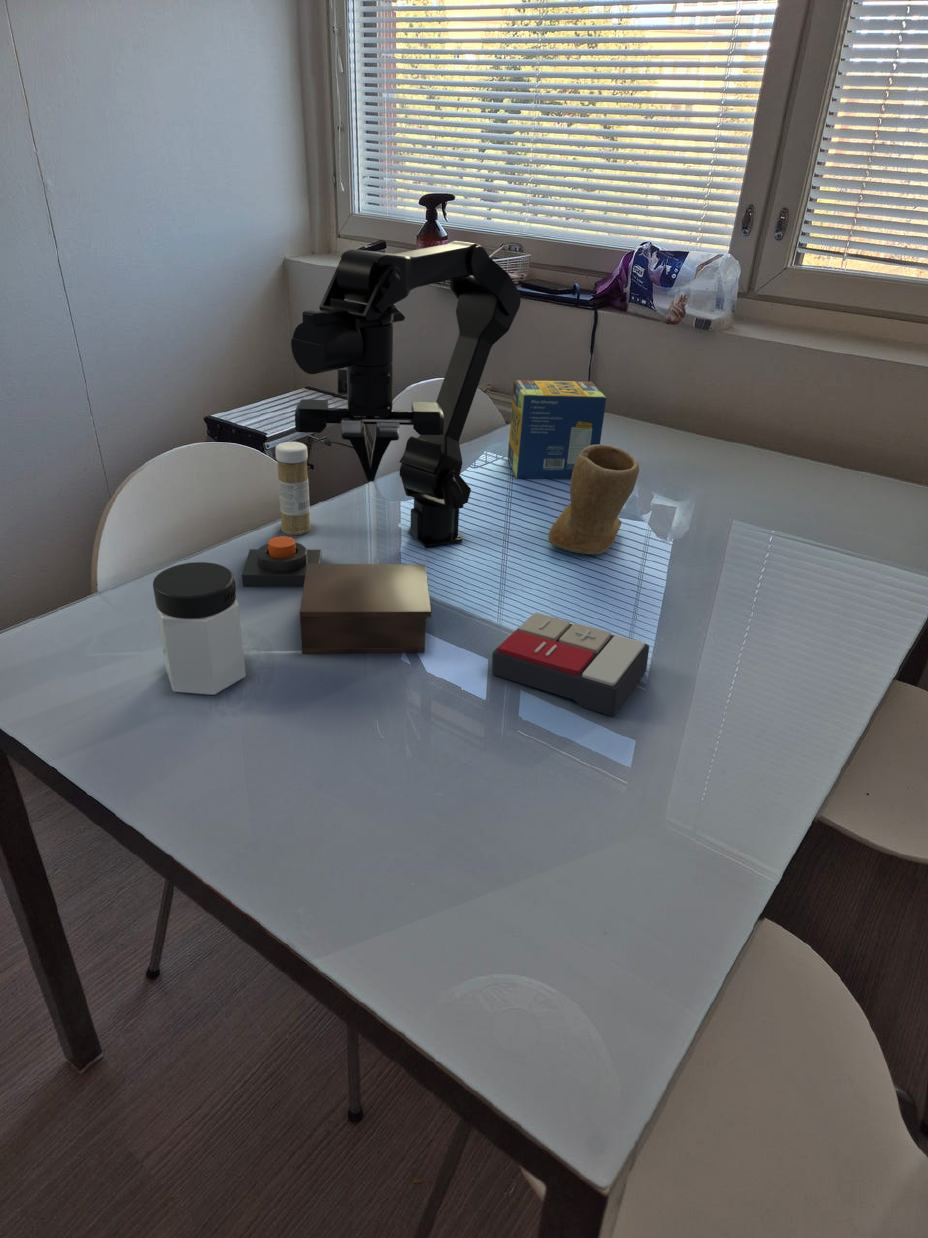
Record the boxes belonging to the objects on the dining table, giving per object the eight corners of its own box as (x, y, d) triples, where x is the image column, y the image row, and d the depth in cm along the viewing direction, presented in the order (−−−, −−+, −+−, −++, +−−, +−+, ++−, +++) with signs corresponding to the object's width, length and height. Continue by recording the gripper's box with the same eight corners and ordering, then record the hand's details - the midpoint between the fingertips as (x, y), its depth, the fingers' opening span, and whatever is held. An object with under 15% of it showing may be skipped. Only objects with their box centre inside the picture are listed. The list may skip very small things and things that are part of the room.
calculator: (533, 607, 100) (651, 638, 94) (532, 638, 103) (647, 670, 96) (491, 646, 92) (617, 683, 86) (490, 679, 94) (613, 717, 88)
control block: (321, 561, 117) (320, 539, 115) (318, 587, 110) (317, 564, 108) (250, 561, 116) (248, 538, 114) (242, 587, 109) (240, 564, 107)
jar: (252, 687, 89) (243, 590, 83) (175, 704, 86) (159, 604, 80) (234, 647, 96) (224, 555, 90) (162, 661, 93) (146, 566, 87)
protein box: (506, 459, 159) (512, 379, 151) (583, 460, 161) (593, 380, 153) (515, 478, 150) (522, 394, 142) (596, 479, 152) (608, 396, 144)
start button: (296, 547, 113) (296, 536, 112) (294, 559, 110) (293, 547, 109) (270, 547, 113) (269, 535, 112) (267, 559, 110) (266, 547, 109)
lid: (425, 568, 106) (425, 564, 105) (431, 617, 95) (431, 611, 95) (307, 568, 104) (307, 563, 104) (299, 617, 93) (299, 611, 93)
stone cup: (616, 567, 120) (631, 470, 112) (538, 551, 124) (549, 455, 116) (637, 530, 132) (652, 440, 125) (566, 516, 136) (577, 427, 128)
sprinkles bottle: (301, 522, 128) (297, 438, 122) (316, 532, 126) (312, 447, 119) (275, 528, 126) (269, 443, 119) (290, 539, 123) (284, 452, 116)
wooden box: (419, 602, 108) (420, 568, 106) (424, 652, 97) (425, 617, 95) (309, 602, 106) (307, 568, 104) (301, 653, 96) (299, 617, 93)
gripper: (439, 349, 110) (435, 461, 118) (298, 345, 108) (304, 459, 116) (446, 369, 100) (441, 489, 108) (291, 364, 98) (298, 487, 106)
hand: (370, 480), depth 110 cm, fingers closed
